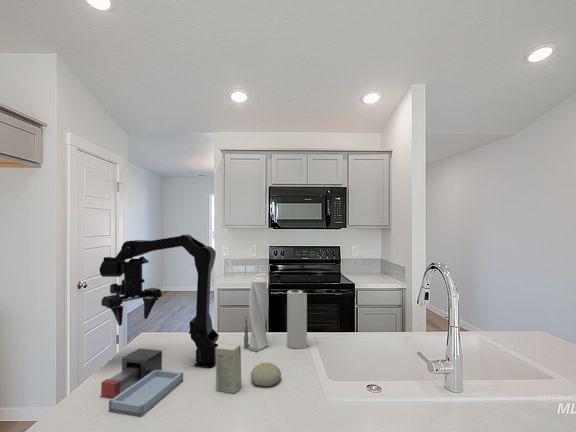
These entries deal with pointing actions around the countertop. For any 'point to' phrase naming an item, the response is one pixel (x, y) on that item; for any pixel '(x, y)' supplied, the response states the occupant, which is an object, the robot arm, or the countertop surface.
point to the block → (144, 360)
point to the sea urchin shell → (265, 374)
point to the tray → (145, 393)
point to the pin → (121, 381)
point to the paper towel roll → (296, 319)
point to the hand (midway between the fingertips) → (133, 322)
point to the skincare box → (228, 367)
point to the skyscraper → (257, 315)
